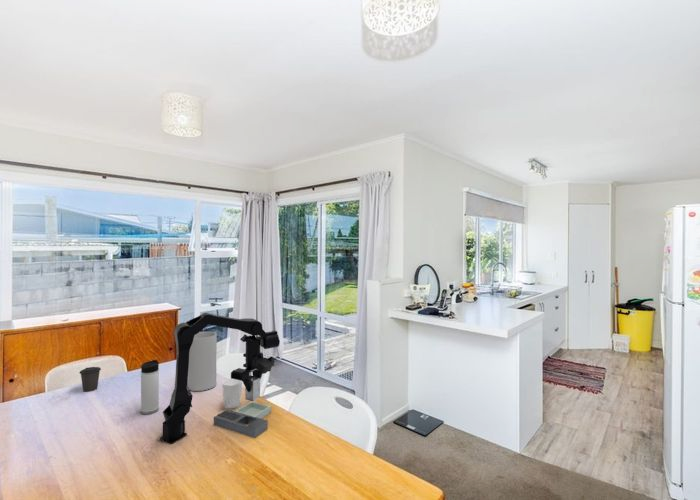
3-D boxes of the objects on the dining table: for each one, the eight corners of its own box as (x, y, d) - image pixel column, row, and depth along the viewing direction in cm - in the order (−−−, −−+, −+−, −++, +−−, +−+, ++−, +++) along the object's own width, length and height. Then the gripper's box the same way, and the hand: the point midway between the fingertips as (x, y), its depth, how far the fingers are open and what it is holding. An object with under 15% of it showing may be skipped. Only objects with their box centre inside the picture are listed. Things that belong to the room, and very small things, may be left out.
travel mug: (162, 407, 144) (162, 360, 144) (152, 415, 138) (152, 365, 137) (148, 406, 145) (148, 359, 144) (137, 414, 138) (137, 364, 138)
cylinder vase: (192, 382, 171) (192, 332, 171) (218, 380, 173) (218, 331, 173) (184, 392, 159) (184, 338, 158) (213, 390, 161) (213, 337, 161)
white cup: (238, 409, 143) (238, 385, 143) (219, 409, 143) (219, 385, 143) (244, 400, 151) (244, 378, 151) (226, 400, 151) (226, 378, 151)
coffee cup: (83, 387, 164) (83, 366, 164) (103, 385, 167) (103, 364, 167) (76, 394, 156) (76, 372, 156) (96, 391, 159) (97, 370, 159)
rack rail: (254, 438, 122) (254, 429, 122) (213, 424, 130) (213, 416, 130) (267, 428, 128) (267, 420, 128) (227, 416, 137) (227, 409, 137)
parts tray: (254, 423, 131) (254, 416, 131) (234, 417, 136) (234, 411, 136) (270, 412, 140) (270, 406, 140) (251, 407, 145) (251, 401, 145)
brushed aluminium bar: (253, 401, 135) (253, 381, 135) (245, 399, 137) (245, 379, 137) (260, 397, 139) (260, 377, 139) (252, 395, 141) (252, 376, 141)
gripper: (252, 360, 126) (252, 403, 126) (283, 347, 143) (283, 385, 143) (229, 356, 131) (229, 397, 131) (262, 344, 148) (262, 380, 148)
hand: (252, 389), depth 138 cm, fingers closed on brushed aluminium bar, 4 cm apart
